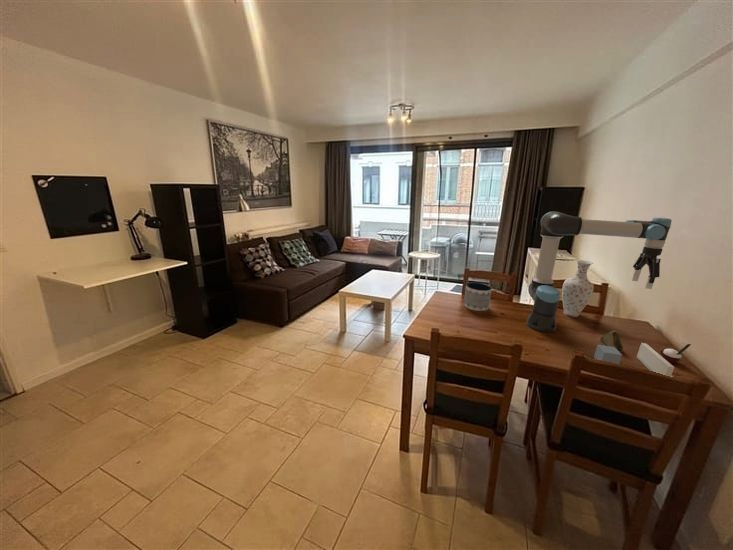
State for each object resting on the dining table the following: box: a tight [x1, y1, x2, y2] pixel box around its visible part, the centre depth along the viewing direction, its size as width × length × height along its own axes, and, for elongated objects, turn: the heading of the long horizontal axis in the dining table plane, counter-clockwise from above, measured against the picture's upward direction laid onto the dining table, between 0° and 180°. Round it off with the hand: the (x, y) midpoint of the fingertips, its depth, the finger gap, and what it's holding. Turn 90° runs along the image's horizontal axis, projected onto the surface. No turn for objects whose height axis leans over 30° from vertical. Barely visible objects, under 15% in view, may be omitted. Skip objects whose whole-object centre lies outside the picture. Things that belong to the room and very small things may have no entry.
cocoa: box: [660, 343, 692, 364], centre depth 142 cm, size 10×6×12 cm, turn 165°
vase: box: [561, 259, 595, 318], centre depth 189 cm, size 16×16×35 cm
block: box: [593, 344, 623, 365], centre depth 141 cm, size 7×7×7 cm
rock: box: [600, 329, 624, 353], centre depth 156 cm, size 11×9×10 cm
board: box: [636, 342, 675, 377], centre depth 136 cm, size 6×20×8 cm, turn 164°
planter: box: [463, 282, 493, 312], centre depth 199 cm, size 16×16×14 cm
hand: (641, 284), depth 167 cm, fingers open, 13 cm apart
